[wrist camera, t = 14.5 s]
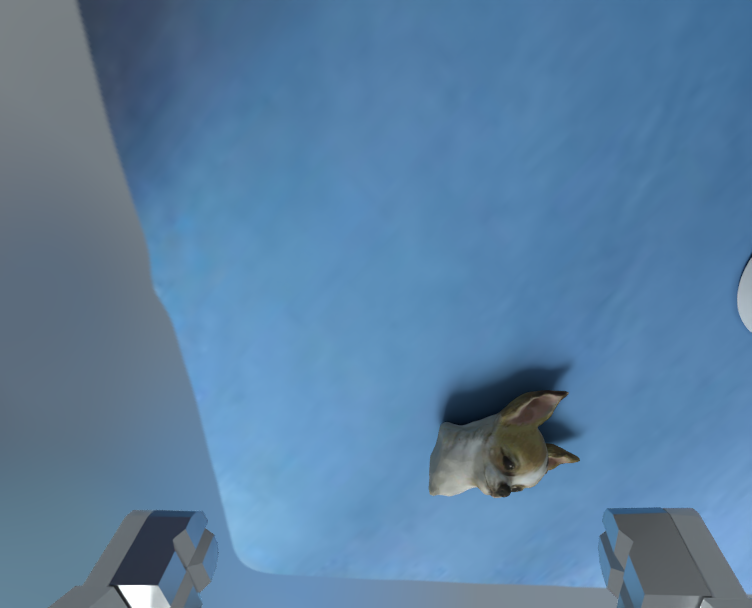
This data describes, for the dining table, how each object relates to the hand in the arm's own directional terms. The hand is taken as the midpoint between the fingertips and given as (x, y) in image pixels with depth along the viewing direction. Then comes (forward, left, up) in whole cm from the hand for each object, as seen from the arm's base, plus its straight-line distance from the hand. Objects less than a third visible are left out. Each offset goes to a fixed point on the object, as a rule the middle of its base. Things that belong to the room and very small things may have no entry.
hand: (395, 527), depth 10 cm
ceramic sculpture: (-6, +28, -32) cm, 43 cm away
